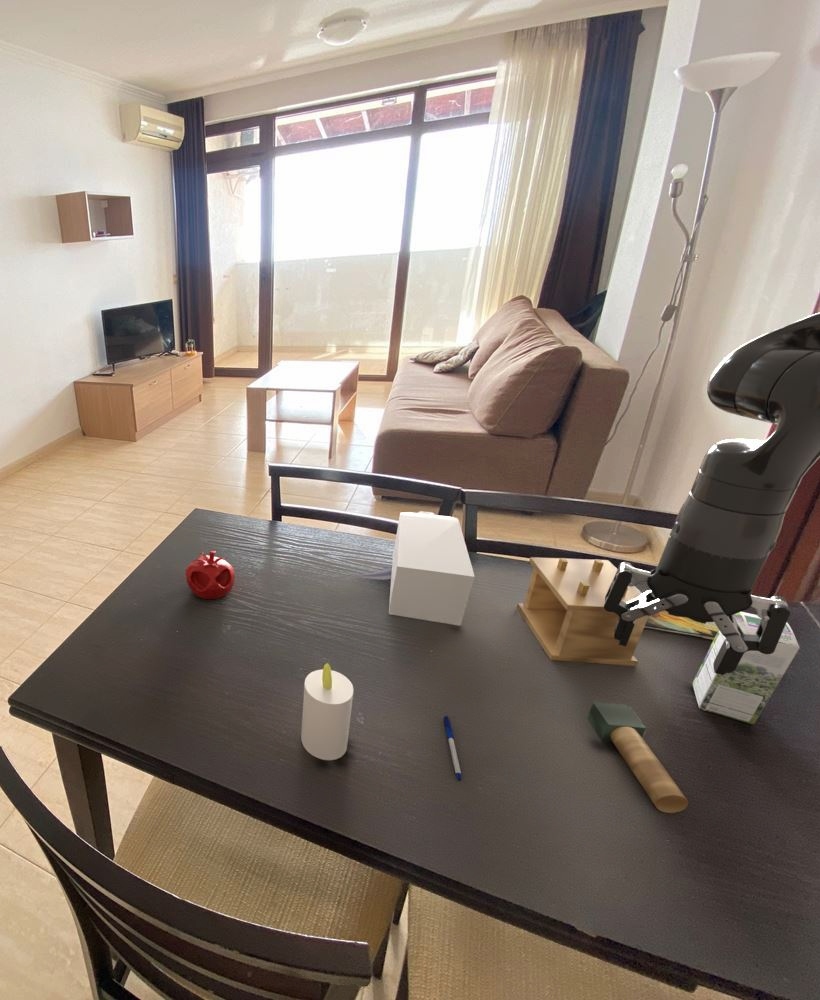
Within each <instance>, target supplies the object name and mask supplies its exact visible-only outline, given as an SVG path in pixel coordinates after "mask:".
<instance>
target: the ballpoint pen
mask: <svg viewBox="0 0 820 1000" xmlns="http://www.w3.org/2000/svg"><path fill="white" fill-rule="evenodd" d="M443 722H444V726H445V732H446V736H447V741H448V745H449V749H450V754H451V758H452V763H453V768H454V772H455V777H456V778H457V780H458V781H460V782H461V781H462V771H461V766H460V763H459V757H458V754H457V748H456V744H455V738H454V733H453V730H452V729H453V728H452V725H451V720H450V718H449V716H448V714H447V715H444V717H443Z"/></svg>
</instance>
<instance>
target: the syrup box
mask: <svg viewBox="0 0 820 1000" xmlns="http://www.w3.org/2000/svg"><path fill="white" fill-rule="evenodd" d="M734 617H735V619H736V621H737V623H738V625H739V626H740V628H741V630H742V631H743V633H744V634H756V631H757V629H758V626H759V624H760V621H761V619H762V618H760V617H758V615H757V614H755V613H749V612H745V611H741V612H739V613H736V614H734ZM724 640H725V636H723V635H722V633H721V632H720V630H718V632H717V634H716V636H715V638H714V640H712V642H711V644H710V646H709V649H708V650H707V652H706V655H705V657H704V659H703V661H702V662H701V665H700V667H699V669H698V670H697V672H696V675H695V677H694V679H693V681H692V682H691V684H692V687H693V691H694V694H695V699H696V702H697V705H698V709H699V710H701V711H705V712H707V713H711V714H715V715H718V716H722V717H726V718H729V719H732V720H736V721H740V722H742V723H747V724H749V725H755V723H756V722H757V720H758V718H759V717H760V715H761V713H762V711H763V710H764V708H765V706H766V705H767V703H768V702H769V700H770V698H771V696H772V695H773V693H774V691H775V690H776V688H777V687H778V685H779V683H780V681H781V680H782V678H783V676H784V675H785V673H786V671H787V670H788V668H789V667H790V665H791V663H792V661H793V660H794V658H795V657H796V655H797V654H798V651H799V650H800V645H799V643H798V640H797V638H796V635H795V633H794V631H793V629H792V627H791V626H790V624H789V623H788V621H787V622H786V625H785V627H784V630H783V632H782V634H781V637H780V639H779V641H778V644H777V646H776V648H775V651H774V652H773V653H772V654H763V653H761V652H759V651H747V652H745V653H744V654H743V656H742V658H741V660H740V662H739V663H738V666H737V668H736V669H735V671H733V672H731V673H730V672H725V674H724V675H720V674H717V673H714V667H713V664H714V661H715V658H716V656H717V654H718V652H719V650H720V648H721V646H722V644H723V642H724Z"/></svg>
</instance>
